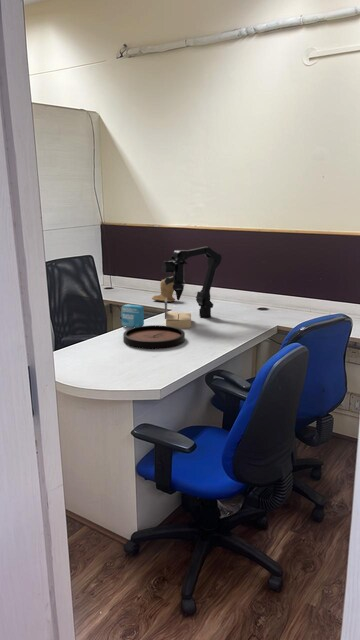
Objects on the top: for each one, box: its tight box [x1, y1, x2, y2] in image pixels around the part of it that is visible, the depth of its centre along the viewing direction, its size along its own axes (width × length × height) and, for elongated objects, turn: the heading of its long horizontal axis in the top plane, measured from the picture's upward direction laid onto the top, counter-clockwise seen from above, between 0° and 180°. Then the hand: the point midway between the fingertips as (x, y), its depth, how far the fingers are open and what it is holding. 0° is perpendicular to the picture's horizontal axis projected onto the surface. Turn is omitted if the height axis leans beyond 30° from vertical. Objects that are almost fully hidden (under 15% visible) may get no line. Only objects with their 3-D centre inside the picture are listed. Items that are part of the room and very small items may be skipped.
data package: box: [120, 303, 145, 328], centre depth 276 cm, size 12×4×12 cm, turn 69°
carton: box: [165, 312, 192, 329], centre depth 282 cm, size 14×18×5 cm
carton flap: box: [164, 298, 179, 321], centre depth 281 cm, size 7×17×10 cm, turn 179°
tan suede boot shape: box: [151, 279, 176, 303], centre depth 343 cm, size 15×12×15 cm
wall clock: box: [122, 324, 186, 350], centre depth 251 cm, size 31×4×31 cm
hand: (178, 298), depth 287 cm, fingers open, 9 cm apart
